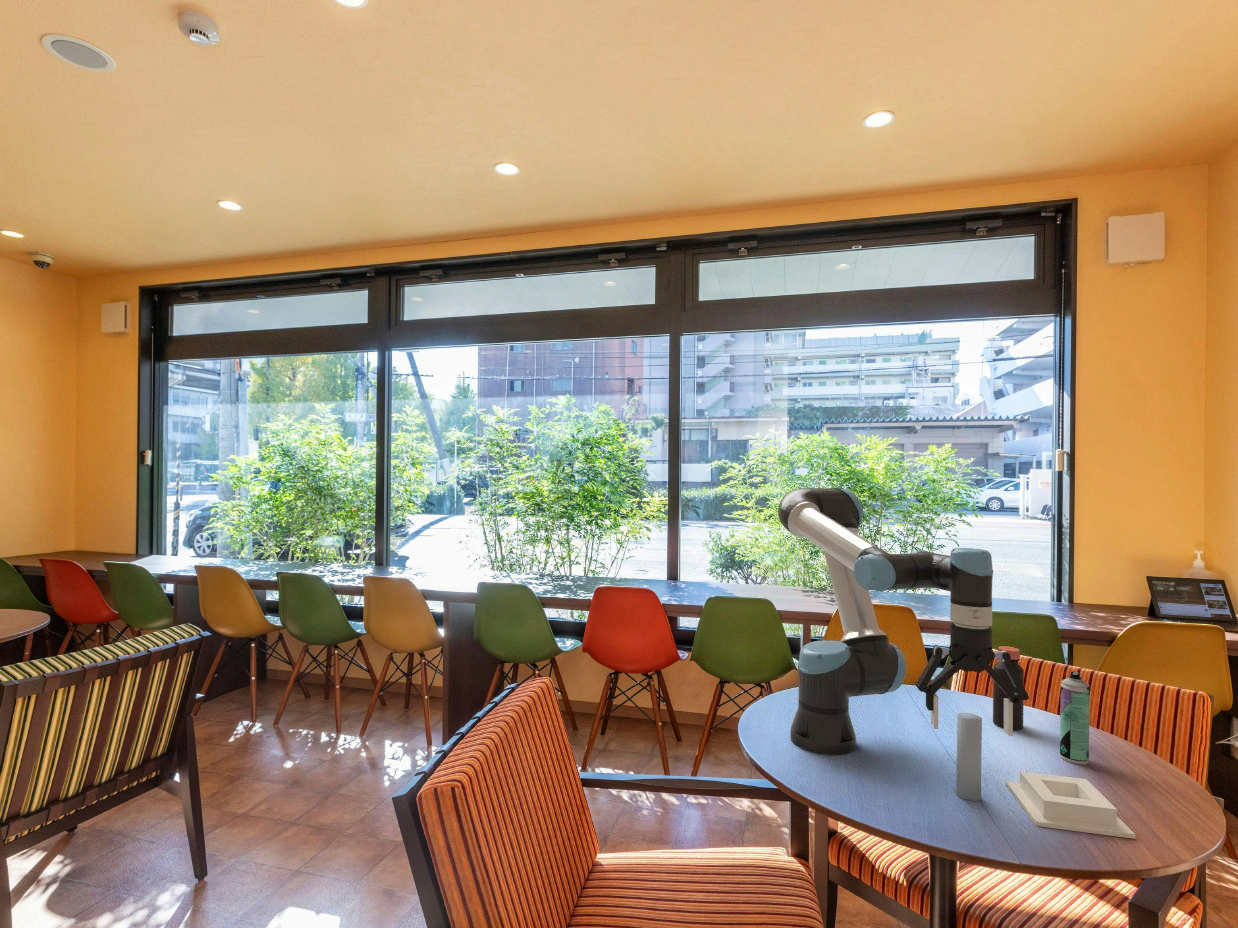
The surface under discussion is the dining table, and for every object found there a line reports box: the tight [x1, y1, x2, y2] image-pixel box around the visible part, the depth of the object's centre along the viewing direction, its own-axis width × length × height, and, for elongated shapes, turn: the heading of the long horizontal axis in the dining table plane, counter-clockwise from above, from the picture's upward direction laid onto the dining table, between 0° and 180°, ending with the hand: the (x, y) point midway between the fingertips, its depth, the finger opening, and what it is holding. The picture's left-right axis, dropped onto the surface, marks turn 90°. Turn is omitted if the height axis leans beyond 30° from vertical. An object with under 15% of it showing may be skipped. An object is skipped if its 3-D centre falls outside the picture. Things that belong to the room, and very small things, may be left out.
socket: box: [1005, 771, 1136, 840], centre depth 125 cm, size 16×16×4 cm
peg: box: [955, 712, 983, 802], centre depth 130 cm, size 4×4×16 cm
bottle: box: [992, 645, 1025, 731], centre depth 167 cm, size 7×7×20 cm
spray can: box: [1059, 671, 1091, 766], centre depth 148 cm, size 6×6×20 cm
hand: (970, 729), depth 130 cm, fingers open, 13 cm apart
